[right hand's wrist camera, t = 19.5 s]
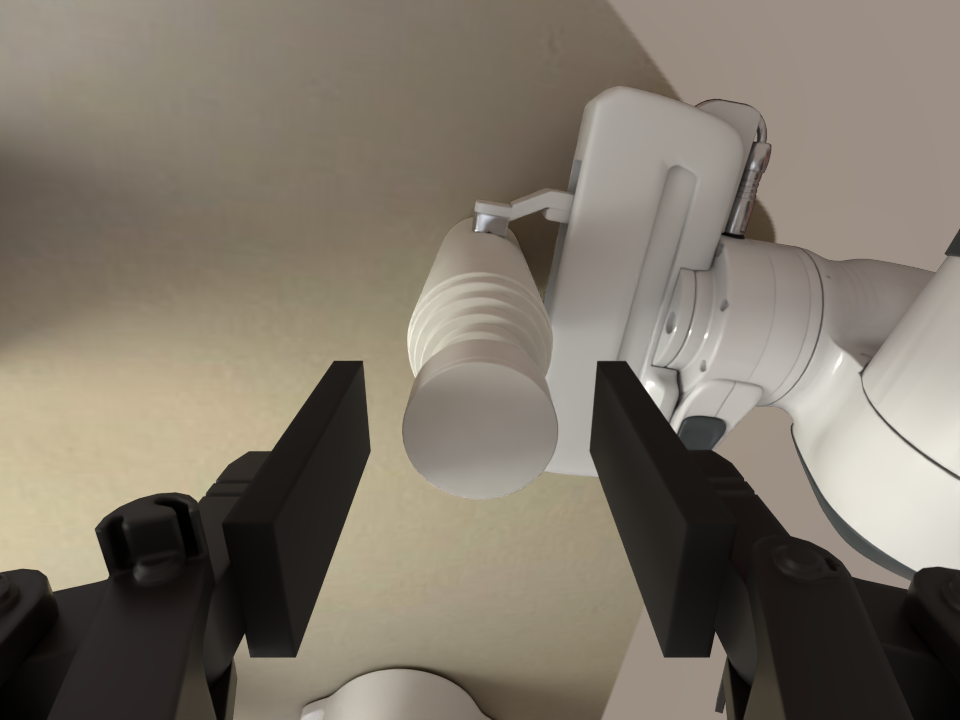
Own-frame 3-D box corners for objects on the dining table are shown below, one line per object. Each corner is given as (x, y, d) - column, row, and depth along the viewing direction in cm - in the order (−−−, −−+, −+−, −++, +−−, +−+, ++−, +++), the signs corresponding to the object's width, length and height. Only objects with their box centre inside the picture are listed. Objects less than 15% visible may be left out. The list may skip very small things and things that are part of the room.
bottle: (467, 199, 33) (446, 282, 12) (536, 245, 34) (624, 394, 13) (424, 269, 35) (341, 448, 14) (492, 311, 36) (508, 536, 15)
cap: (573, 427, 15) (584, 460, 13) (455, 484, 15) (452, 522, 14) (509, 312, 14) (512, 334, 12) (383, 379, 14) (371, 407, 13)
